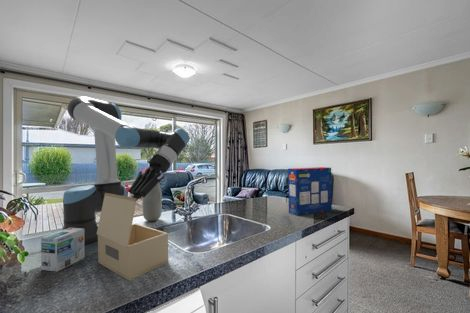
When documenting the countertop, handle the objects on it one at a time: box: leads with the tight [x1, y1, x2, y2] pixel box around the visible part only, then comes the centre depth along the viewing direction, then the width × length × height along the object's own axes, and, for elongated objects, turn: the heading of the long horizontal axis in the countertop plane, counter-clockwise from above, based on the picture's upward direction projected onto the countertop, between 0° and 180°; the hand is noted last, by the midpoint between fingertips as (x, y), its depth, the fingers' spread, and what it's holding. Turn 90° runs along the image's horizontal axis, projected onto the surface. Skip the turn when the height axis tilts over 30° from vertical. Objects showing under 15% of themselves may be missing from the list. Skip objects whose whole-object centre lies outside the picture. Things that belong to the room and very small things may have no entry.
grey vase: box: [141, 181, 163, 222], centre depth 128 cm, size 10×10×28 cm
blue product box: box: [287, 166, 333, 217], centre depth 144 cm, size 28×8×28 cm, turn 114°
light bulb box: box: [40, 228, 86, 273], centre depth 77 cm, size 11×7×11 cm, turn 168°
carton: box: [97, 223, 169, 281], centre depth 78 cm, size 20×14×10 cm
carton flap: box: [97, 193, 138, 247], centre depth 73 cm, size 19×14×1 cm
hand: (121, 212), depth 74 cm, fingers closed
